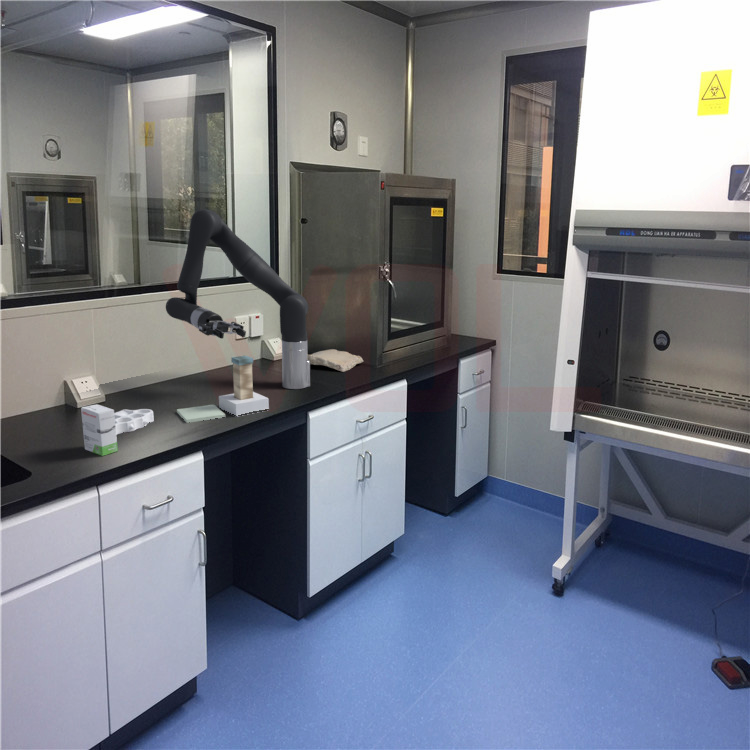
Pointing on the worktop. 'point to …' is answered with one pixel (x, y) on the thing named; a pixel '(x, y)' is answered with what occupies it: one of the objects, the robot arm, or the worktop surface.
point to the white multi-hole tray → (132, 419)
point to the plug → (242, 377)
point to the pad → (200, 413)
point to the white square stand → (243, 404)
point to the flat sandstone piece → (335, 359)
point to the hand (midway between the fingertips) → (233, 334)
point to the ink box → (99, 429)
